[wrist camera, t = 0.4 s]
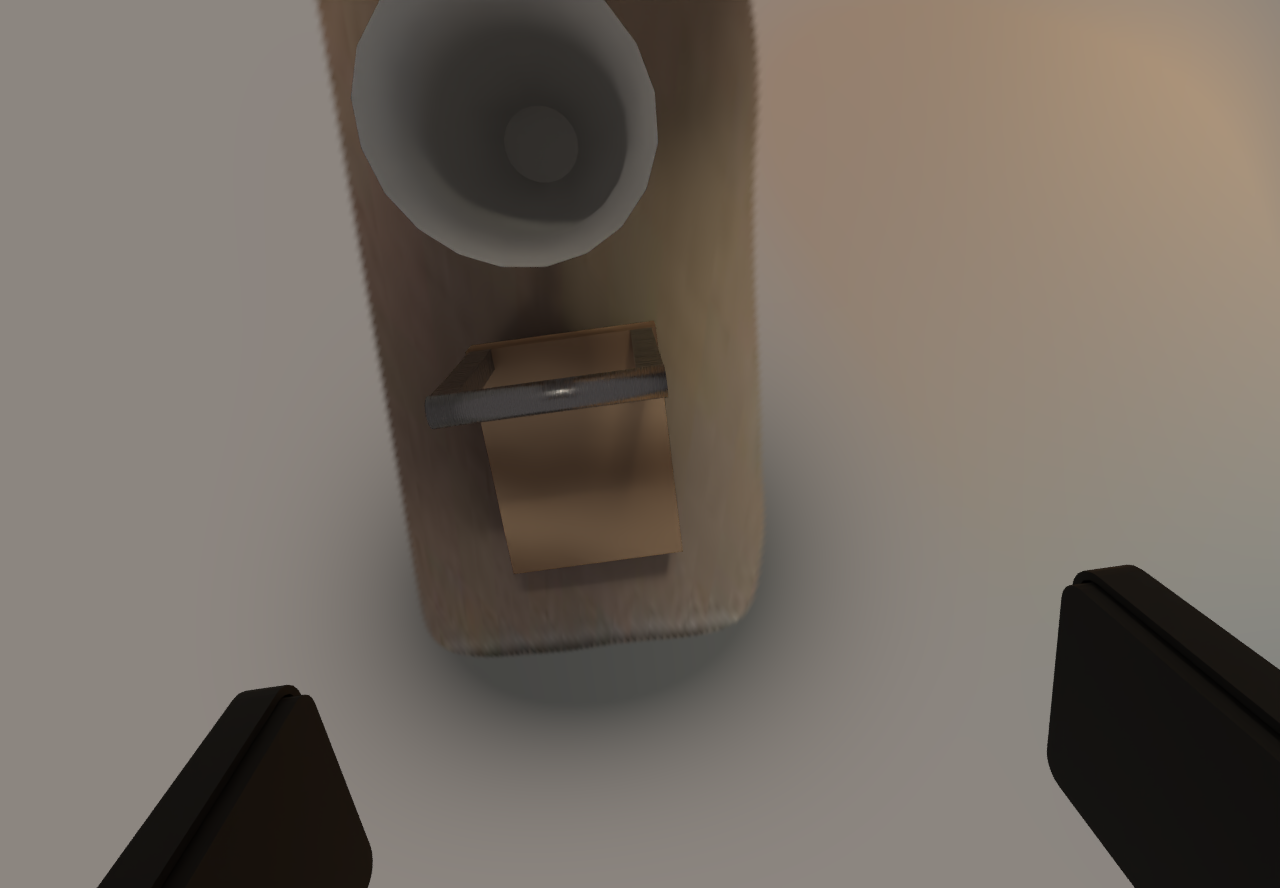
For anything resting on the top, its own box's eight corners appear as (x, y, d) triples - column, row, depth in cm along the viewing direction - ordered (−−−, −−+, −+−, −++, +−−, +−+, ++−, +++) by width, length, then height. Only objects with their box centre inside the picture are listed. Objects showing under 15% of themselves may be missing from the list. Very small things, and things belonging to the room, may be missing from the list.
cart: (479, 334, 36) (416, 402, 24) (650, 310, 36) (670, 367, 24) (522, 539, 40) (486, 682, 28) (675, 518, 40) (703, 653, 28)
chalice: (462, 191, 34) (315, 189, 17) (513, 48, 32) (404, -118, 15) (600, 256, 35) (591, 314, 18) (657, 122, 33) (707, 48, 16)
